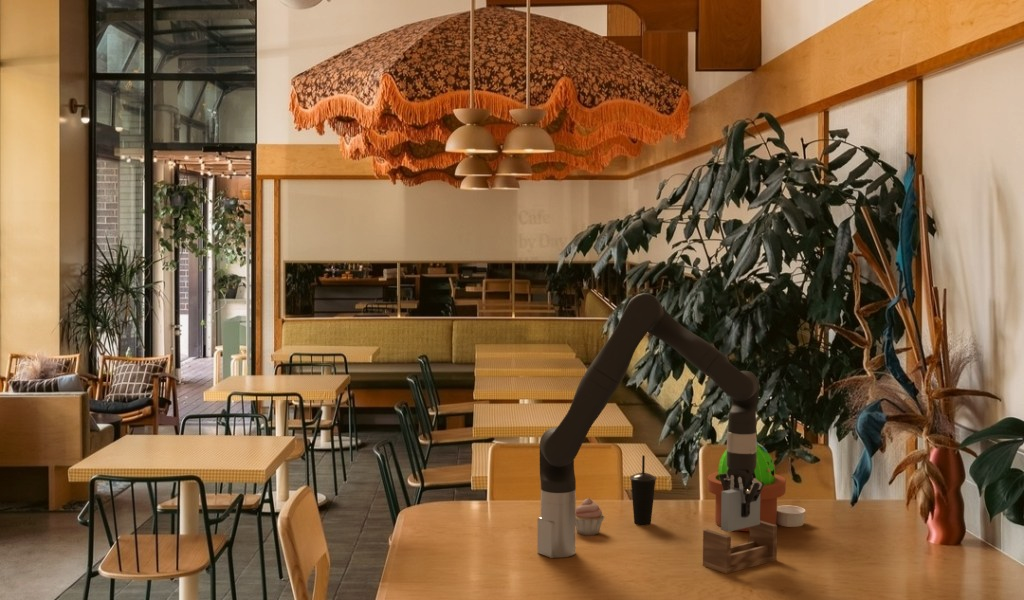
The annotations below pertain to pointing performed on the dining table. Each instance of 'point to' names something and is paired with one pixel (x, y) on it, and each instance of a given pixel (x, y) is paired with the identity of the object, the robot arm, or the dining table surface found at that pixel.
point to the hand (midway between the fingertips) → (740, 515)
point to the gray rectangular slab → (737, 511)
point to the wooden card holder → (740, 549)
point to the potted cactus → (763, 472)
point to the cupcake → (588, 518)
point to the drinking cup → (642, 496)
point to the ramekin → (790, 516)
